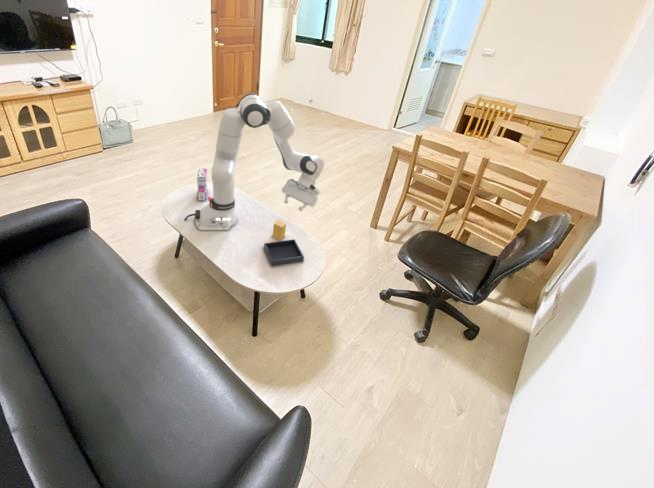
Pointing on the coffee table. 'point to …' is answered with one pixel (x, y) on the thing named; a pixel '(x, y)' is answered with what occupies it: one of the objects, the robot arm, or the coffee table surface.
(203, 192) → the candy bar box
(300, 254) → the pan
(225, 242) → the coffee table surface
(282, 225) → the cheese
